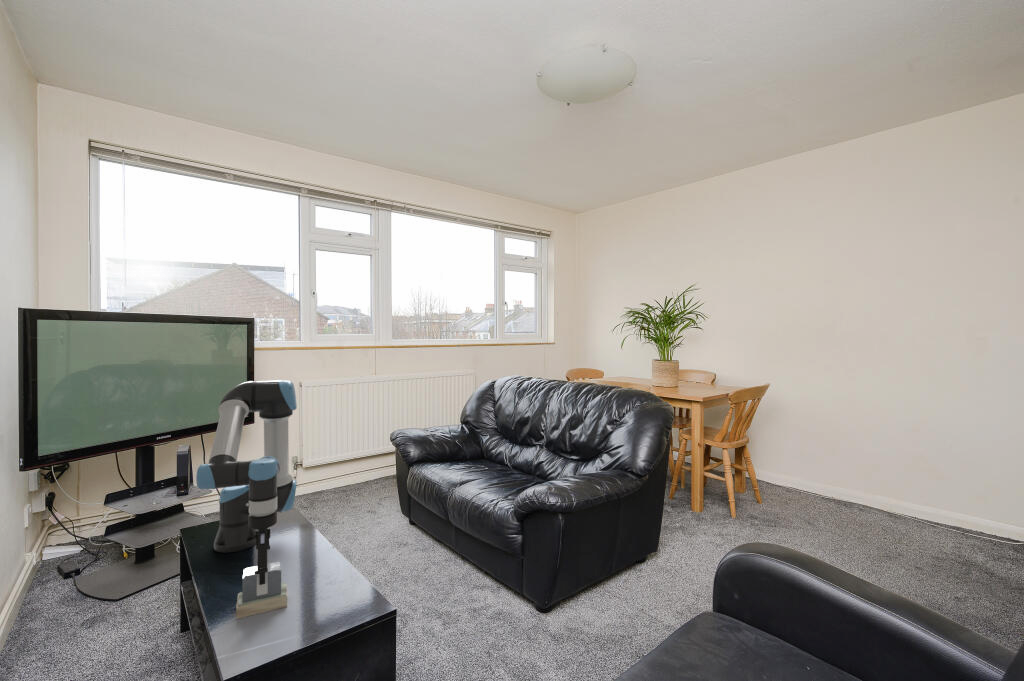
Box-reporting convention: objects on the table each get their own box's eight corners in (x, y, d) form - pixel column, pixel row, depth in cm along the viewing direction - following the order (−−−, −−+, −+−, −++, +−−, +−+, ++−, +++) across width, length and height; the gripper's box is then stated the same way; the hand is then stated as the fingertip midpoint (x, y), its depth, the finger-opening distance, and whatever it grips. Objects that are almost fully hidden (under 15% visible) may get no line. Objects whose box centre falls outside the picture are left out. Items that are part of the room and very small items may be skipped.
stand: (238, 604, 136) (238, 592, 136) (286, 593, 143) (286, 581, 143) (236, 618, 129) (236, 606, 129) (287, 606, 135) (287, 594, 135)
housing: (280, 584, 141) (281, 560, 141) (281, 594, 136) (281, 569, 136) (243, 592, 136) (243, 568, 136) (242, 602, 131) (242, 577, 131)
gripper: (250, 501, 145) (249, 567, 145) (246, 529, 123) (246, 607, 123) (276, 497, 149) (276, 562, 149) (277, 524, 127) (277, 600, 127)
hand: (262, 583), depth 136 cm, fingers open, 13 cm apart
